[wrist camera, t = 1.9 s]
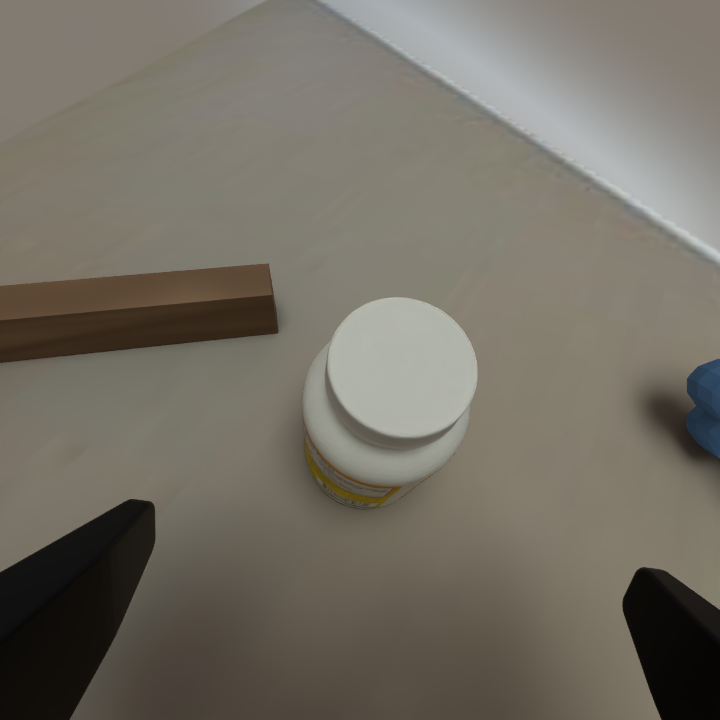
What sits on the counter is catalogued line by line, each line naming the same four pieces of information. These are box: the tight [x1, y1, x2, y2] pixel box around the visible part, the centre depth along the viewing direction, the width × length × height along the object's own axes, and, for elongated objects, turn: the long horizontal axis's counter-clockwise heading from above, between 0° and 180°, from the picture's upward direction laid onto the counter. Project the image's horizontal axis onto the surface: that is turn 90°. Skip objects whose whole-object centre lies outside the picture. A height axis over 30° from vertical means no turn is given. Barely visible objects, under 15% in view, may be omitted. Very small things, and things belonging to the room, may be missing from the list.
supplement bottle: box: [302, 297, 478, 509], centre depth 16 cm, size 5×5×10 cm
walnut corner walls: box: [0, 264, 278, 362], centre depth 17 cm, size 16×17×4 cm
